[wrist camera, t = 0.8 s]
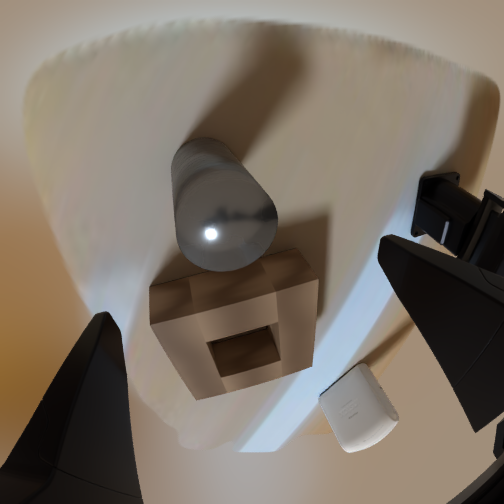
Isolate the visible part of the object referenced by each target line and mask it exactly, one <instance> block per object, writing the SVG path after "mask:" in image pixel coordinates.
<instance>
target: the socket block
mask: <svg viewBox="0 0 504 504" xmlns="http://www.w3.org/2000/svg"><path fill="white" fill-rule="evenodd" d="M318 284H319V278H318V277H317V276H316V274H315V273H314V271H313V270H312V269H311V267H310V266H309V264H308V263H307V262H306V260H305V259H304V257H303V256H302V255H301V253H300V252H299V250H298V249H297V248H295V249H292V250H288V251H284V252H281V253H277V254H273V255H269V256H266V257H262V258H258V259H257V260H255V261H254V262H252V263H251V264H249V265H247V266H245V267H242V268H240V269H236V270H232V271H224V272H217V271H209V272H205V273H201V274H197V275H194V276H190V277H186V278H182V279H178V280H174V281H171V282H167V283H163V284H159V285H155V286H151V287H149V309H150V326H151V328H152V330H153V332H154V333H155V335H156V337H157V339H158V340H159V342H160V344H161V346H162V347H163V349H164V351H165V352H166V354H167V356H168V357H169V359H170V361H171V362H172V364H173V366H174V367H175V369H176V370H177V372H178V374H179V375H180V377H181V378H182V380H183V381H184V383H185V384H186V386H187V387H188V389H189V390H190V392H191V393H192V395H193V396H194V398H195V399H196V400H200V399H204V398H209V397H213V396H217V395H221V394H225V393H229V392H233V391H236V390H240V389H244V388H247V387H251V386H254V385H258V384H261V383H264V382H267V381H271V380H274V379H277V378H280V377H283V376H286V375H289V374H292V373H295V372H298V371H301V370H304V369H306V368H309V367H312V363H313V352H314V341H315V329H316V316H317V301H318ZM266 325H267V329H265V330H262V331H258V332H255V333H252V334H248V335H245V336H241V337H237V338H234V339H230V340H227V341H223V342H219V343H215V344H212V342H211V341H213V340H217V339H220V338H224V337H228V336H231V335H235V334H239V333H242V332H246V331H249V330H253V329H256V328H260V327H263V326H266Z"/></svg>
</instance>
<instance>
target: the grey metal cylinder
mask: <svg viewBox="0 0 504 504" xmlns="http://www.w3.org/2000/svg"><path fill="white" fill-rule="evenodd" d="M171 177H172V192H173V205H174V217H175V228H176V237H177V242H178V245H179V247H180V249H181V251H182V253H183V254H184V255H185V256H186V258H187V259H188V260H190V261H191V262H192V263H193V264H195V265H197V266H199V267H201V268H203V269H206V270H210V271H217V272H224V271H232V270H236V269H240V268H242V267H245V266H247V265H249V264H251V263H252V262H254V261H255V260H257V259H258V258H259V257H260V256H262V255H263V254H264V253H265V251H266V250H267V249H268V248H269V246H270V245H271V243H272V241H273V239H274V237H275V234H276V231H277V225H278V216H277V211H276V208H275V205H274V203H273V201H272V200H271V198H270V197H269V195H268V194H267V193H266V192H265V191H264V190H263V188H262V187H261V186H260V185H259V184H258V182H257V181H256V180H255V179H254V178H253V177H252V175H251V174H250V173H249V172H248V171H247V170H246V168H245V167H244V166H243V165H242V164H241V163H240V162H239V160H238V159H237V158H236V157H235V156H234V155H233V154H232V152H231V151H230V150H229V149H228V148H227V147H226V146H225V145H224V144H223V143H221V142H219V141H218V140H215V139H212V138H197V139H194V140H191V141H189V142H187V143H185V144H184V145H183V146H182V147H181V148H180V149H179V150H178V151H177V152H176V154H175V156H174V158H173V161H172V165H171Z"/></svg>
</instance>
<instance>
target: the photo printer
mask: <svg viewBox="0 0 504 504" xmlns="http://www.w3.org/2000/svg"><path fill="white" fill-rule="evenodd" d="M318 401H319V403H320V405H321V408H322V410H323V412H324V414H325V416H326V418H327V420H328V422H329V424H330V426H331V428H332V430H333V432H334V434H335V436H336V438H337V440H338V442H339V444H340V445H341V447H342V448H343V449H344V450H345V451H346V452H348V453H351V452H356V451H359V450H363V449H365V448H368V447H370V446H372V445H374V444H376V443H377V442H379V441H380V440H382V439H383V438H384V437H385V436H386V435H387V434H388V433H389V432H390V431H391V430H392V429H393V428H394V427H395V425H396V424H397V423H398V421H399V416H398V413H397V411H396V410H395V408H394V406H393V405H392V403H391V402H390V400H389V398H388V397H387V395H386V394H385V392H384V391H383V389H382V387H381V386H380V384H379V383H378V381H377V380H376V378H375V376H374V375H373V373H372V372H371V370H370V369H369V367H368V366H367V364H365V363H361V364H358V365H356V366H355V367H354V368H353V369H352V370H350V371H349V372H348V373H347V374H346V375H345V376H343V377H342V378H341V379H340V380H339V381H338V382H336V383H335V384H334V385H333V386H332V387H331V388H329V389H328V390H327V391H326V392H325V393H323V394H322V395H321V396H320V397H319V398H318Z"/></svg>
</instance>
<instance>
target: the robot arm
mask: <svg viewBox="0 0 504 504" xmlns="http://www.w3.org/2000/svg"><path fill="white" fill-rule="evenodd" d="M459 180H460V174H459V173H457V172H452V173H446V174H439V175H433V176H427V177H423V178H421V180H420V183H419V190H418V196H417V202H416V208H415V213H414V219H413V224H412V229H411V235H412V236H413V237H418V236H421V235H424V234H428V235H429V236H430V237H432V238H433V239H434V240H435V241H436V242H438V243H439V244H440V245H443V246H444V247H445V248H447V249H448V250H449V251H450V252H451V253H452V254H453V255H455V256H457V255H458V256H457V258H455V257H452V256H450V255H447V254H445V253H442V252H439V251H437V250H434V249H432V248H429V247H426V246H423V245H421V244H418V243H415V242H413V241H410V240H407V239H404V238H401V237H399V236H396V235H393V234H390V235H386V236H383V237H382V238H381V239H380V244H379V250H378V262H379V264H380V266H381V268H382V269H383V271H384V273H385V275H386V277H387V278H388V280H389V282H390V284H391V286H392V287H393V289H394V291H395V293H396V295H397V296H398V298H399V300H400V301H401V303H402V304H403V306H404V307H405V309H406V310H407V312H408V313H409V315H410V316H411V318H412V320H413V321H414V323H415V324H416V326H417V327H418V329H419V330H420V332H421V334H422V336H423V337H424V339H425V340H426V342H427V344H428V345H429V347H430V349H431V350H432V352H433V354H434V356H435V357H436V359H437V361H438V362H439V364H440V366H441V368H442V369H443V371H444V373H445V375H446V377H447V378H448V380H449V382H450V384H451V386H452V387H453V390H454V392H455V394H456V396H457V398H458V399H459V402H460V403H461V405H462V407H463V409H464V412H465V414H466V416H467V418H468V420H469V422H470V424H471V426H472V428H473V430H474V432H475V433H476V432H478V431H479V430H480V429H482V428H483V427H485V426H486V425H487V424H489V423H490V422H491V421H492V420H494V419H495V418H496V417H497V416H499V415H500V414H501V413H503V412H504V211H503V213H501V212H502V209H504V198H502V197H501V196H499V195H497V194H494V193H493V192H491V191H489V190H487V189H485V192H484V198H483V199H482V201H481V200H480V199H478V198H477V197H475V196H474V195H472V194H470V193H469V192H467V191H466V190H464V189H462V188H461V187H459V186H458V185H459ZM42 399H43V400H41V401H40V403H39V405H38V407H37V409H36V410H35V412H34V414H33V416H32V418H31V419H30V421H29V423H28V425H27V426H26V428H25V430H24V431H23V433H22V435H21V437H20V438H19V439H18V441H17V443H16V444H15V446H14V448H13V449H12V452H11V453H10V455H9V456H8V458H7V460H6V461H5V463H4V464H3V465H2V467H1V468H0V504H144V503H143V499H142V495H141V490H140V485H139V479H138V474H137V468H136V462H135V455H134V448H133V441H132V431H131V423H130V412H129V400H128V383H127V373H126V366H125V360H124V352H123V344H122V336H121V332H120V329H119V327H118V326H117V324H116V323H115V321H114V319H113V318H112V316H111V315H110V313H109V312H106V311H105V312H101V313H97V314H95V315H94V317H93V318H92V320H91V321H90V323H89V324H88V326H87V327H86V328H85V330H84V331H83V333H82V334H81V336H80V338H79V339H78V341H77V342H76V344H75V345H74V347H73V348H72V350H71V351H70V353H69V355H68V356H67V358H66V359H65V361H64V362H63V364H62V366H61V367H60V369H59V371H58V372H57V374H56V376H55V377H54V379H53V381H52V383H51V384H50V386H49V388H48V389H47V391H46V393H45V394H44V396H43V398H42ZM493 453H494V455H495V457H496V459H497V460H496V461H495V462H494V463H493V464H492V465H491V466H490V467H489V468H488V469H487V470H486V471H485V472H484V473H482V474H481V475H480V476H479V477H478V478H477V479H476V480H475V481H474V482H472V483H471V484H470V485H469V486H468V487H467V488H466V489H464V490H463V491H462V492H461V493H459V494H458V495H457V496H456V497H454V498H453V499H452V500H451V501H449V502H448V503H447V504H504V418H503V419H502V420H501V421H500V422H499V423H498V424H497V429H496V437H495V443H494V450H493Z"/></svg>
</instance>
